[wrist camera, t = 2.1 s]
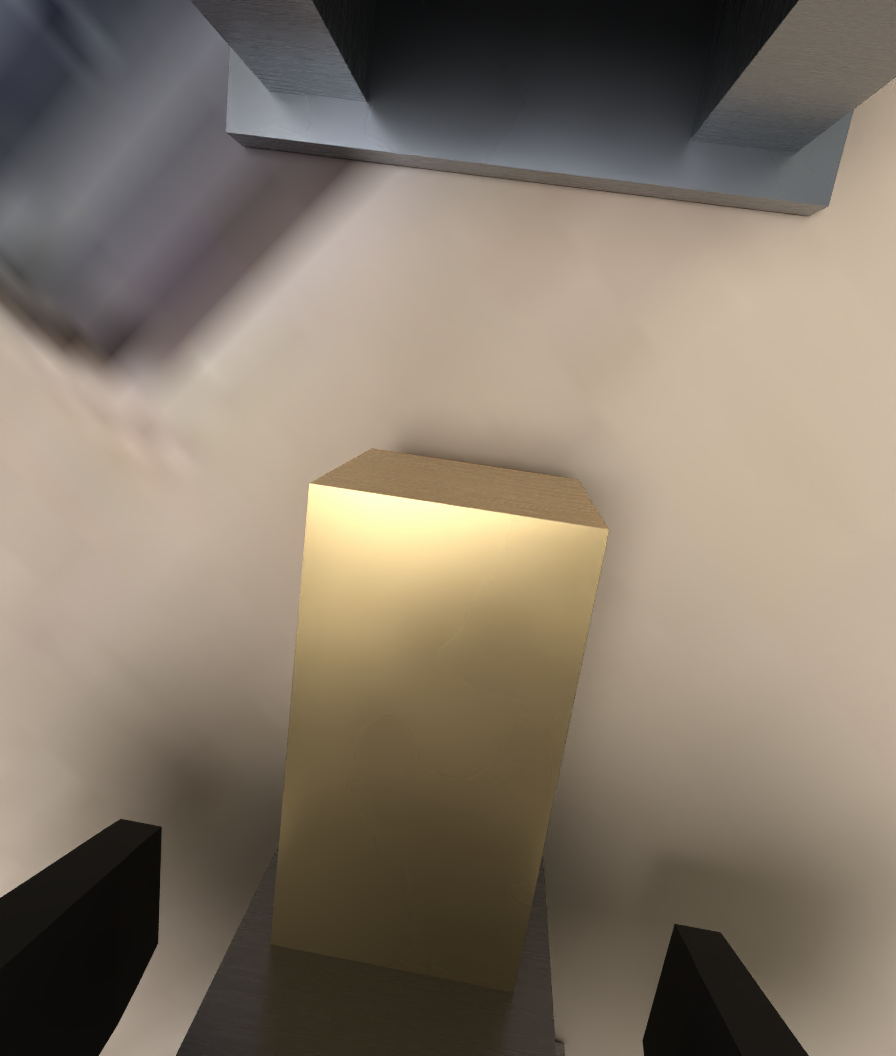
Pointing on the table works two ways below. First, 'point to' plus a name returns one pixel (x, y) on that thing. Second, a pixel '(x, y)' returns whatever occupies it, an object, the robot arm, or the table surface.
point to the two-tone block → (417, 769)
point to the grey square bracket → (567, 89)
